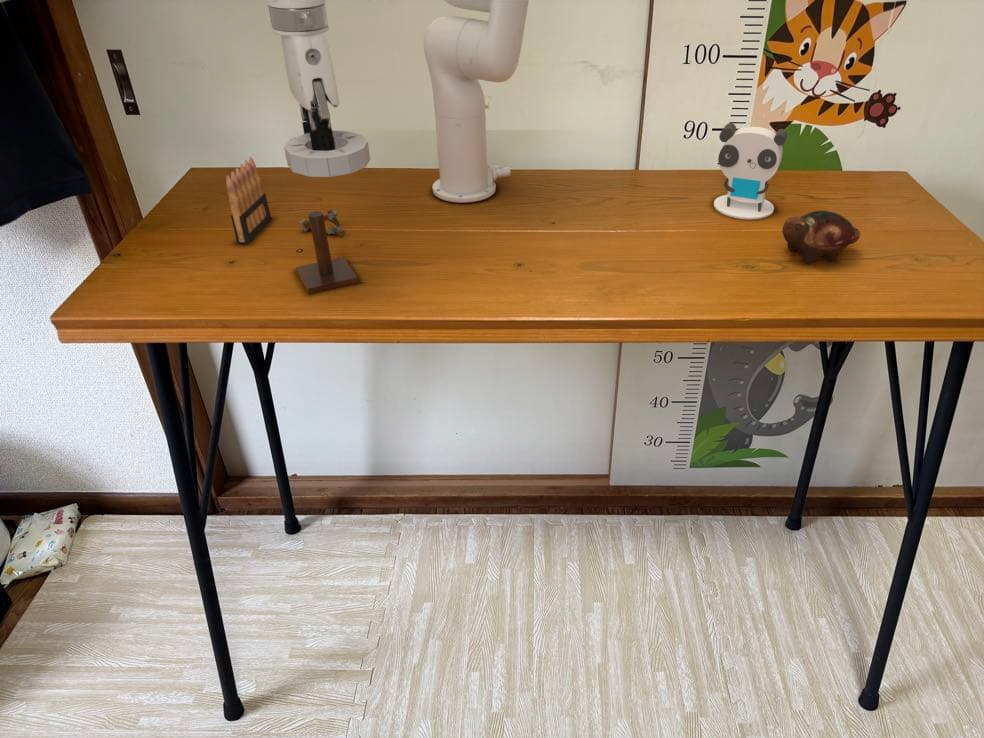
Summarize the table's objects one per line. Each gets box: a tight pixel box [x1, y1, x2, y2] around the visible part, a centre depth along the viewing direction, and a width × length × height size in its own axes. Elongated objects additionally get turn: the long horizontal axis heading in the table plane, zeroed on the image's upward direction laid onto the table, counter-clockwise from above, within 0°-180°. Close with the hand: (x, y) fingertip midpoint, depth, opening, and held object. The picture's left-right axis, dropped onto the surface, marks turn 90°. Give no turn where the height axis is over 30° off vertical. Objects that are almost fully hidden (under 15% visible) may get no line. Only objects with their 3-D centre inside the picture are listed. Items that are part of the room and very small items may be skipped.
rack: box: [295, 210, 359, 295], centre depth 122 cm, size 8×8×11 cm
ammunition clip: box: [226, 156, 272, 245], centre depth 135 cm, size 11×2×12 cm, turn 172°
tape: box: [283, 130, 371, 178], centre depth 113 cm, size 12×12×3 cm
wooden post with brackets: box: [299, 209, 345, 235], centre depth 137 cm, size 2×8×4 cm, turn 71°
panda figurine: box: [713, 122, 788, 220], centre depth 144 cm, size 12×11×15 cm
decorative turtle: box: [781, 210, 861, 265], centre depth 130 cm, size 10×15×8 cm, turn 113°
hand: (320, 150), depth 116 cm, fingers closed on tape, 3 cm apart
